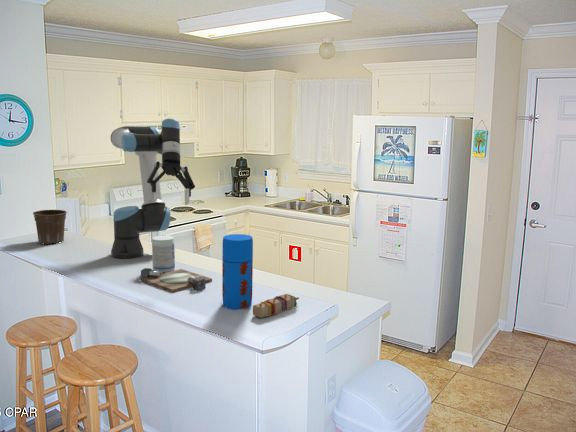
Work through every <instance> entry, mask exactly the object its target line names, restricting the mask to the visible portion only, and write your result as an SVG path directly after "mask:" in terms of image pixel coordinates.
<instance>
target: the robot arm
mask: <svg viewBox="0 0 576 432" xmlns="http://www.w3.org/2000/svg"><path fill="white" fill-rule="evenodd" d="M180 127H181V126H180V122H179V120H177V119H175V118H165V119H163V120H162V121H161V126H160V128H161V131H159V129H158V128H157V127H155V126H149V125H147V126H143V125H142V126H141V125H140V126H137V125H136V126H135V125H134V126H133V125H130V126H129V125H127V126H126V125H125V126H119V127H118V128H116V129H113V131H112V132H111V134H110V142H111V144H112V145H113V147H115V148H116V149H119V150H121V149H122V151H124V152H129V153H134V154H135V155H136V156H137V157H138V163H139V170H140V180H141V186H142V187H141V188H142V196H143V203H142V204H141V205H140V206H141V208H139V206H137V205H127V206H123V207H118V208H117V209H115V210H114V211H113V219H112V220H113V230H114V231H113V233H114V234H113V238H114V239H113V242H112V248H111V250H110V257H113V258H116V259H134V258H139V257H142V256H144V247H143V245H142V242H141V240H140V239H141V238H140V234H141V233H142V234H143V233H153V232H154V233H155V232H157V233H158V232H159V233H160V232H165V231H167V230H168V229H169V226H170V224H171V210H170V207H168V206H166V202H164V201H163V200H162V192H161V184H160V183H161V182H160V180H161V179H162V178H163V177H164V175H165V174H166V176H172V177H175V178H177V179H178V181H179V182H180V183H181V185H182V186H183V187H184V189H185V190H184V205H185V206H188V205H189V204H190V197H192V194H191V193H192V190H194V189H195V188H196V186H195V183H194V181H193V178H192V176H191V175H190V173H189V169H188V166H182V165H181V138H180V137H181V128H180ZM158 154H159V155H161V163H160V161H157V155H158ZM160 168H161V169H162V172H160V173H159V169H160Z"/></svg>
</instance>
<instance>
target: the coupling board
mask: <svg viewBox="0 0 576 432" xmlns="http://www.w3.org/2000/svg"><path fill="white" fill-rule="evenodd" d="M189 277H192V278H199V277H202V278H205V284H207V283H211V282H213V278H211V277H208V276H205V275H202V274H199V273H195V272H192V271H189V270H186V269H182V268H180V269H174V270H173V271H171V272H166V273H160V276H159V277H148V278H143V279H142V280H141V281H142V283H144V284H145V283H146V284H149V285H151V286H154V287H156V288H158V289H163V290H164V291H167V292H171V293H176V292H179V291H183V290H187V289H189V288H193V284H191V283H188V278H189Z"/></svg>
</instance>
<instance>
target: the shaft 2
mask: <svg viewBox="0 0 576 432" xmlns="http://www.w3.org/2000/svg"><path fill="white" fill-rule="evenodd" d="M188 283H191V284H193V287H192V290H194V291H201V290H204V289H206V283H205V278H202V277H199V278H192V277H189V278H188Z"/></svg>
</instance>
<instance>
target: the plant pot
mask: <svg viewBox="0 0 576 432" xmlns="http://www.w3.org/2000/svg"><path fill="white" fill-rule="evenodd" d="M67 213H68V211H66V210H64V209H42V210H36V211H33V212H32V215H33V217H34V222H35V227H36V233H37V239H38V243H39V242H40V243H45V244H44V245H49V244H50V245H53V244H52V243H59V242H62V241H63V242H64V241H65V227H66V225H65V222H66V218H67ZM63 242H62V243H63ZM40 243H39V244H40ZM59 244H60V243H59Z"/></svg>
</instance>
